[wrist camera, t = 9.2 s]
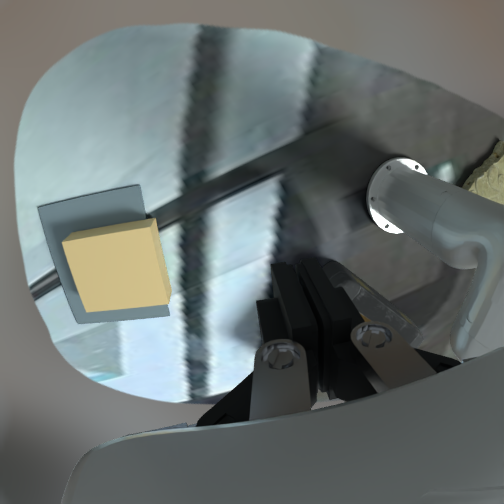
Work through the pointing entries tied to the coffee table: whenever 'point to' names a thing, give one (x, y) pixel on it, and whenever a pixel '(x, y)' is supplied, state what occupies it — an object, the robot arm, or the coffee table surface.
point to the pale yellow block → (119, 266)
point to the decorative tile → (489, 176)
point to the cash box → (372, 303)
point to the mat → (88, 217)
